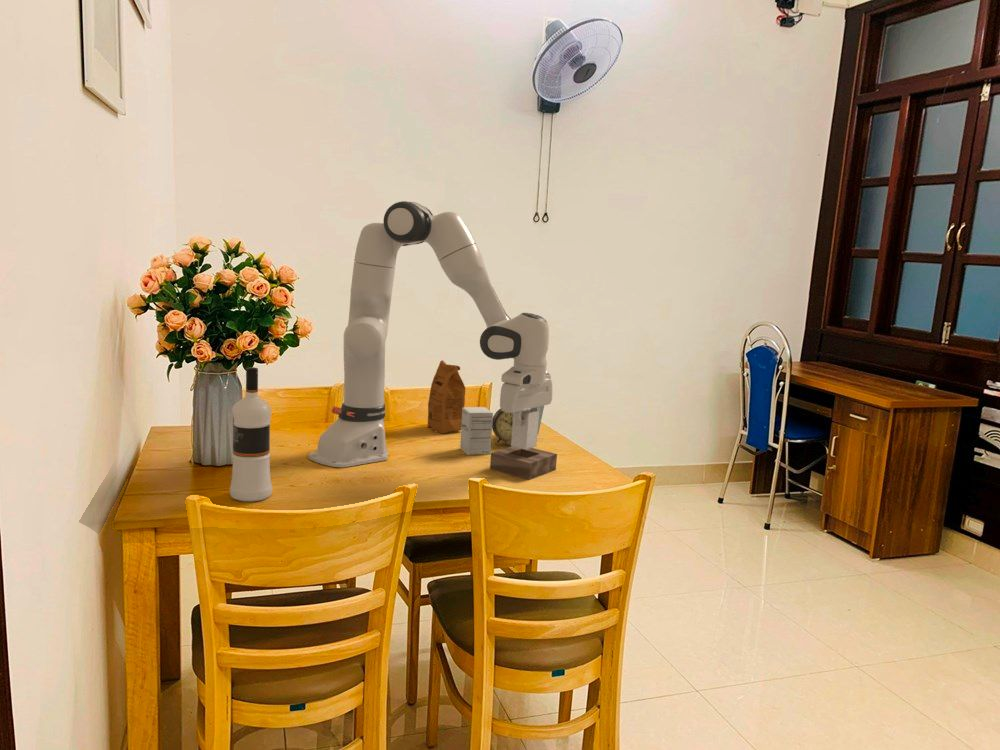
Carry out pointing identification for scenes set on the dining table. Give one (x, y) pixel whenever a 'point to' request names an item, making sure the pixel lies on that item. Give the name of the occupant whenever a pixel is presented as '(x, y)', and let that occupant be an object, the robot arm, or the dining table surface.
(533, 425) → the grey peg
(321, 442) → the robot arm
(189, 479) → the dining table surface
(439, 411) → the coffee package
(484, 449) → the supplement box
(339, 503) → the dining table surface
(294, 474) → the dining table surface
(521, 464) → the pocket block
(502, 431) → the alarm clock
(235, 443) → the vodka
